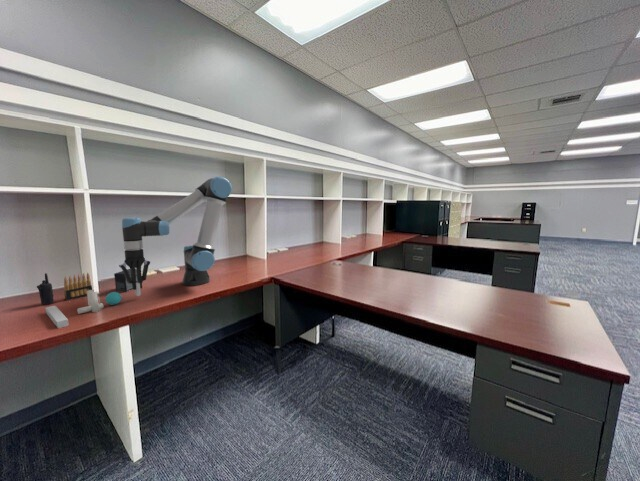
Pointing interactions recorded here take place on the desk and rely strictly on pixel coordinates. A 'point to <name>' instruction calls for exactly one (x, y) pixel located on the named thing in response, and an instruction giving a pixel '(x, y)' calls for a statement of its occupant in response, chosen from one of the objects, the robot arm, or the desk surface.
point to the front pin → (87, 309)
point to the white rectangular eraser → (57, 316)
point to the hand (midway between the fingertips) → (138, 295)
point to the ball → (113, 298)
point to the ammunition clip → (77, 287)
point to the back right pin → (89, 296)
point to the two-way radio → (46, 291)
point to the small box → (123, 281)
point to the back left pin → (94, 302)
